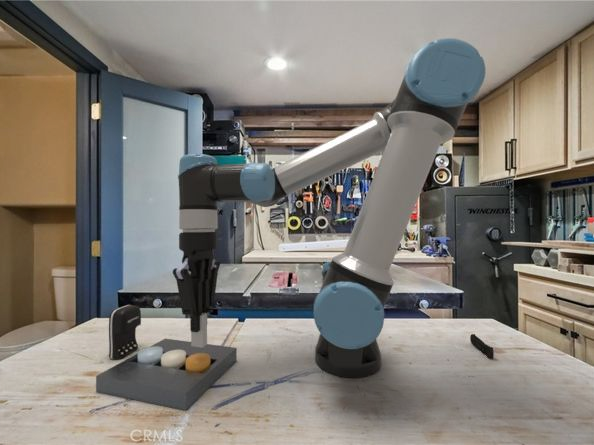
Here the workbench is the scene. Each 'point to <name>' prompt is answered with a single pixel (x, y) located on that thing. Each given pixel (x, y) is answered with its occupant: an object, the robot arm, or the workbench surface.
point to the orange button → (198, 362)
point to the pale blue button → (150, 355)
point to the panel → (166, 376)
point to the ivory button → (173, 359)
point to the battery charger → (123, 331)
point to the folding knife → (482, 346)
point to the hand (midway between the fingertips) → (199, 345)
